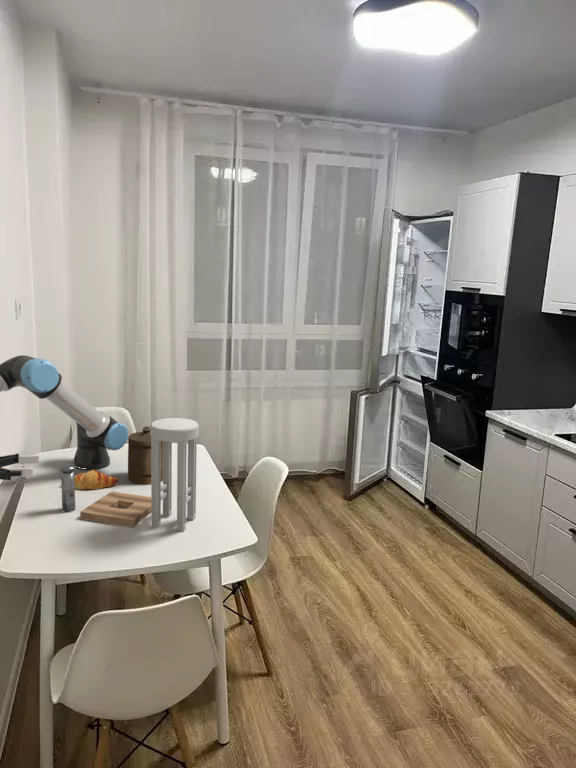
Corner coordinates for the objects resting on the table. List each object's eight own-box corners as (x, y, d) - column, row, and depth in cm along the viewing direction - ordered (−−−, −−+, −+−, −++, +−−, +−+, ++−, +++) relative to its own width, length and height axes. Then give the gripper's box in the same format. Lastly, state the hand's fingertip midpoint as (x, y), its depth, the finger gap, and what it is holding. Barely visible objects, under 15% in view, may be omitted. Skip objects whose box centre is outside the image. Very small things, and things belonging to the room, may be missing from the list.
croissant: (61, 497, 222) (58, 483, 217) (66, 478, 229) (63, 464, 224) (118, 495, 225) (116, 481, 220) (120, 476, 233) (118, 462, 228)
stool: (203, 516, 202) (204, 420, 195) (186, 534, 187) (188, 431, 180) (162, 510, 205) (162, 415, 198) (142, 528, 190) (142, 426, 183)
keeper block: (112, 497, 215) (111, 491, 214) (160, 504, 210) (160, 498, 209) (80, 518, 196) (80, 511, 195) (133, 527, 191) (133, 520, 190)
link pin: (66, 506, 205) (65, 463, 202) (79, 508, 204) (78, 465, 201) (57, 511, 200) (56, 468, 197) (70, 513, 199) (69, 469, 196)
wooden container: (168, 473, 243) (168, 423, 239) (159, 485, 229) (159, 432, 225) (134, 471, 244) (133, 421, 240) (123, 483, 229) (122, 430, 225)
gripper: (-24, 466, 203) (41, 464, 209) (-43, 492, 179) (30, 488, 185) (-25, 446, 202) (40, 444, 207) (-45, 469, 178) (29, 466, 184)
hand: (36, 465), depth 196 cm, fingers open, 13 cm apart
